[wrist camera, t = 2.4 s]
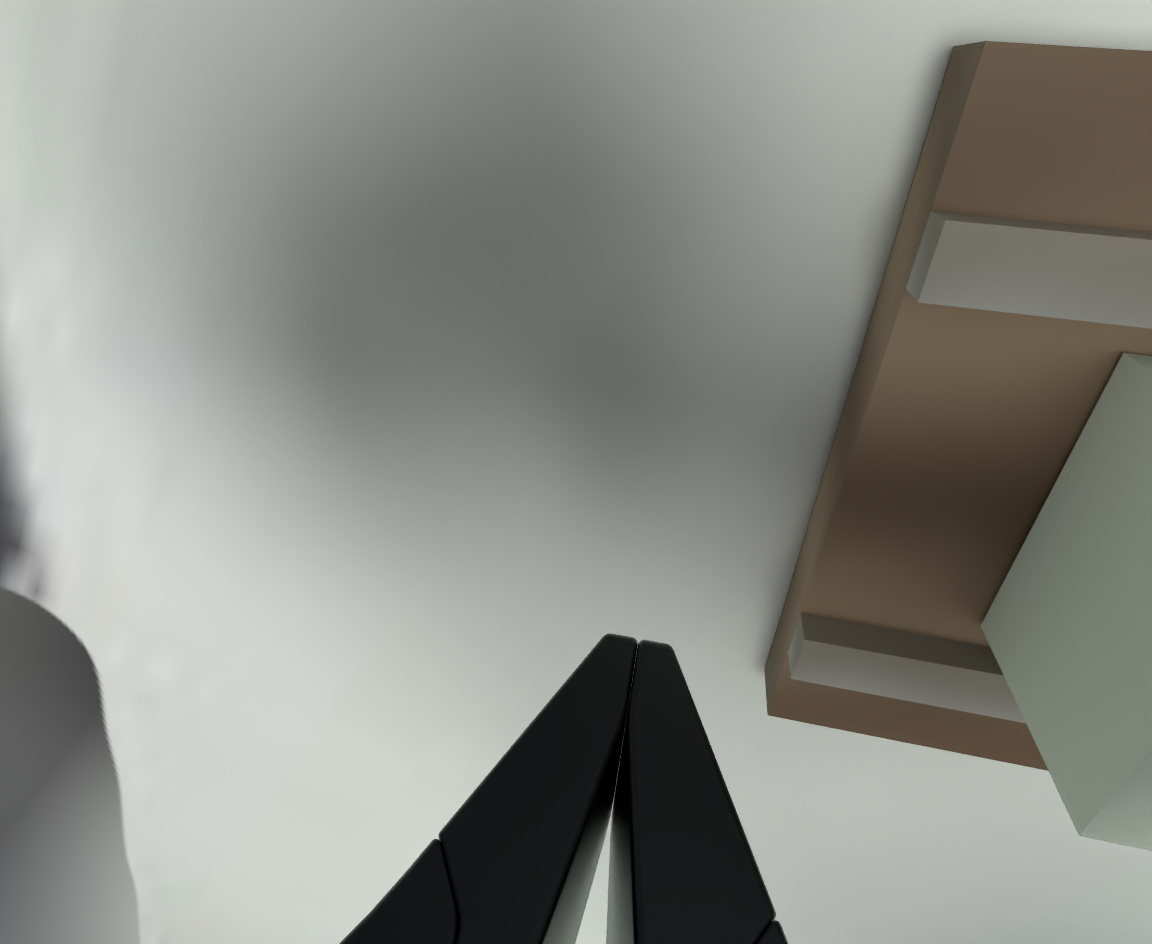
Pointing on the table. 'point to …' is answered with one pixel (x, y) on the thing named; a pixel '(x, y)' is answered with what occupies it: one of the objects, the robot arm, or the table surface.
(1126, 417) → the block
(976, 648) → the track
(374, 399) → the table surface
